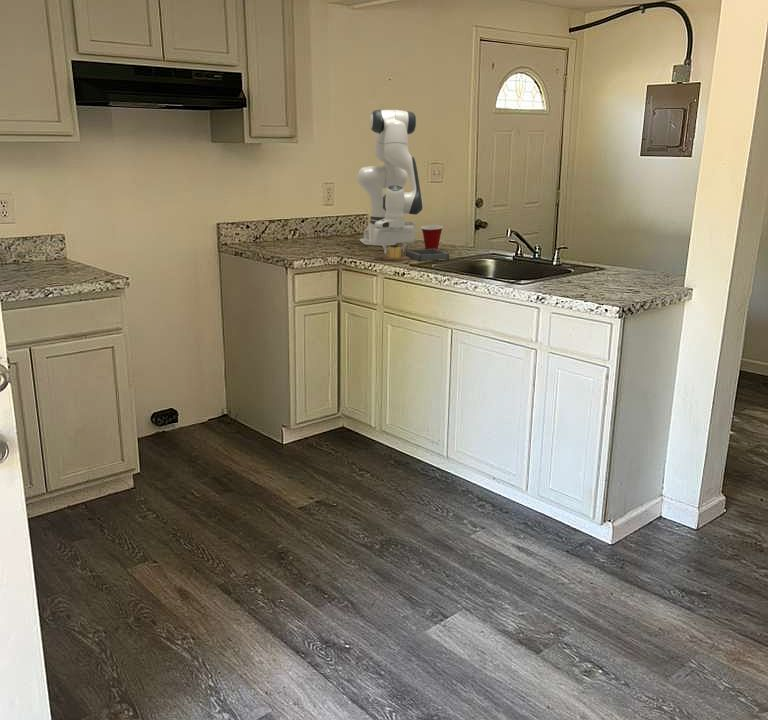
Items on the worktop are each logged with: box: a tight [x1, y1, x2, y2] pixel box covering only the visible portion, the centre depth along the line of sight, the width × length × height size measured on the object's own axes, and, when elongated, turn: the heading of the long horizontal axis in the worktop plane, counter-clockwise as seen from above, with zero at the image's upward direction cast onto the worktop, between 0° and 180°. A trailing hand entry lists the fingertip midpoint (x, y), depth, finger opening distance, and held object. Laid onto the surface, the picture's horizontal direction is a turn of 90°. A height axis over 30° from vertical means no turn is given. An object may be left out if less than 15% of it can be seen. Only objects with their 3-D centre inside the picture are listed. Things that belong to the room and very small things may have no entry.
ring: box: [386, 245, 402, 258], centre depth 349 cm, size 6×6×4 cm
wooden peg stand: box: [377, 244, 411, 262], centre depth 349 cm, size 11×11×6 cm
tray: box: [405, 248, 450, 262], centre depth 352 cm, size 15×15×3 cm
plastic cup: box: [420, 224, 444, 250], centre depth 371 cm, size 11×11×12 cm
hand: (394, 253), depth 349 cm, fingers open, 6 cm apart
